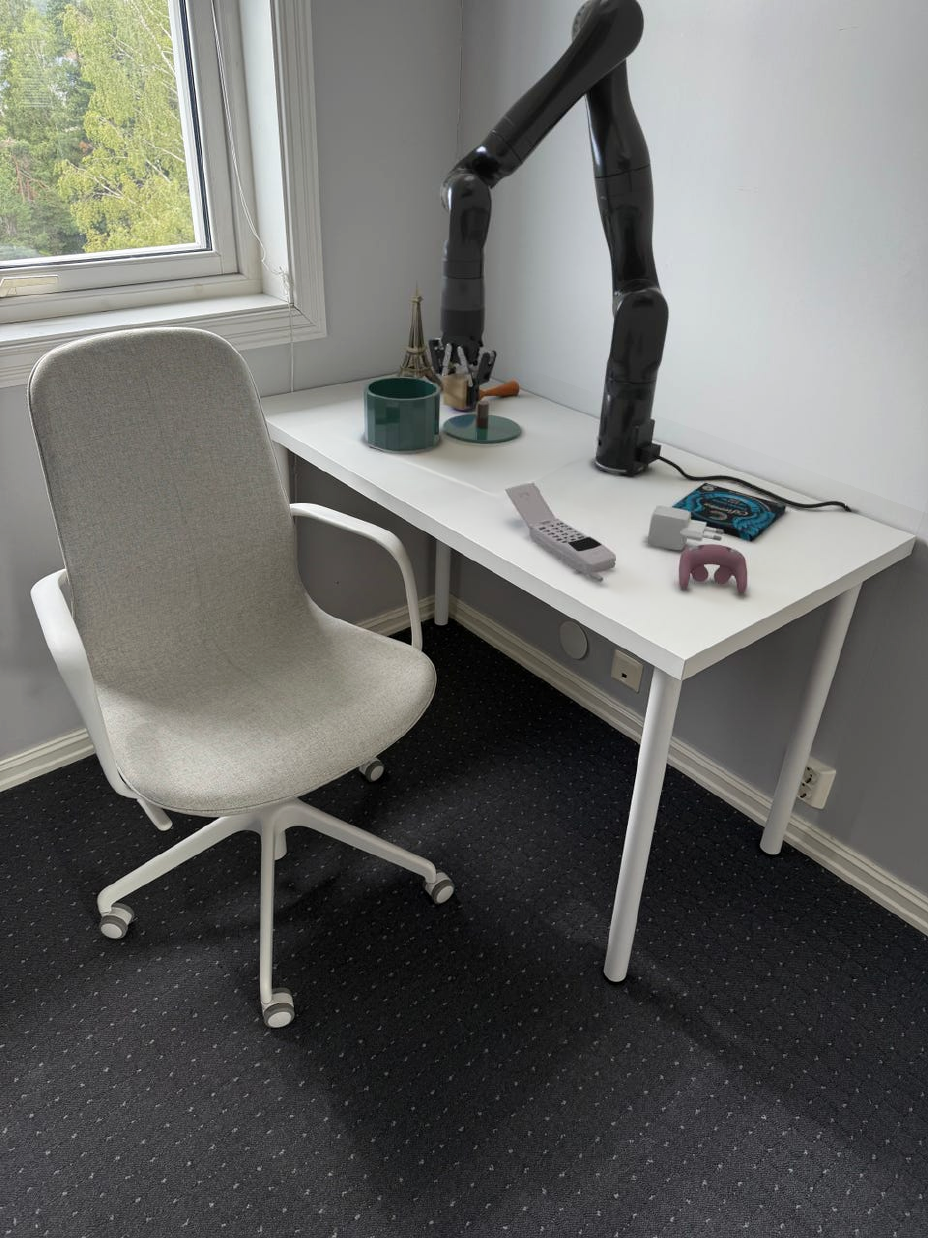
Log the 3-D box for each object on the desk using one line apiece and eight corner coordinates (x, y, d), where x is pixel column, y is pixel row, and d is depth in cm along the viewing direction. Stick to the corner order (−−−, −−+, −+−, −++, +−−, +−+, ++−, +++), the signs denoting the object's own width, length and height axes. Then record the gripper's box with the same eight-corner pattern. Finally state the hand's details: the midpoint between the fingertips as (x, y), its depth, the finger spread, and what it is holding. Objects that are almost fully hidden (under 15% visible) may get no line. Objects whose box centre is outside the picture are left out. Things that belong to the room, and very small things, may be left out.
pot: (454, 440, 182) (456, 388, 176) (402, 459, 172) (402, 405, 167) (401, 422, 190) (401, 371, 184) (349, 439, 180) (348, 387, 174)
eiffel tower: (422, 400, 202) (423, 282, 189) (383, 391, 207) (382, 275, 194) (447, 389, 210) (450, 275, 197) (409, 380, 214) (410, 268, 201)
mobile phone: (532, 481, 151) (631, 540, 132) (530, 513, 154) (626, 576, 136) (502, 488, 148) (598, 550, 130) (500, 521, 151) (594, 586, 133)
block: (478, 404, 162) (479, 376, 159) (462, 410, 159) (462, 381, 156) (459, 398, 164) (460, 371, 162) (443, 404, 161) (443, 376, 159)
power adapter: (720, 548, 145) (727, 514, 142) (716, 561, 141) (723, 527, 138) (651, 534, 148) (656, 501, 145) (645, 547, 145) (650, 513, 141)
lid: (535, 432, 187) (538, 403, 184) (486, 452, 177) (488, 421, 174) (476, 413, 196) (478, 385, 193) (426, 431, 186) (427, 401, 182)
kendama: (526, 381, 204) (465, 392, 190) (519, 405, 207) (459, 418, 194) (507, 370, 207) (446, 380, 193) (501, 394, 210) (440, 406, 197)
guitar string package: (786, 505, 157) (753, 534, 147) (784, 512, 158) (752, 541, 148) (705, 482, 165) (668, 508, 154) (704, 489, 166) (667, 515, 155)
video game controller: (741, 593, 136) (745, 546, 135) (748, 595, 131) (753, 546, 131) (674, 588, 136) (678, 541, 136) (679, 589, 132) (683, 541, 131)
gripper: (510, 306, 151) (505, 407, 160) (445, 293, 159) (444, 389, 168) (481, 314, 146) (478, 417, 155) (416, 299, 154) (416, 398, 163)
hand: (460, 402), depth 162 cm, fingers closed on block, 4 cm apart
